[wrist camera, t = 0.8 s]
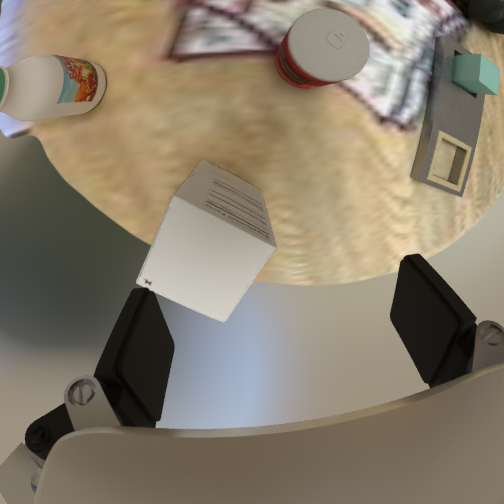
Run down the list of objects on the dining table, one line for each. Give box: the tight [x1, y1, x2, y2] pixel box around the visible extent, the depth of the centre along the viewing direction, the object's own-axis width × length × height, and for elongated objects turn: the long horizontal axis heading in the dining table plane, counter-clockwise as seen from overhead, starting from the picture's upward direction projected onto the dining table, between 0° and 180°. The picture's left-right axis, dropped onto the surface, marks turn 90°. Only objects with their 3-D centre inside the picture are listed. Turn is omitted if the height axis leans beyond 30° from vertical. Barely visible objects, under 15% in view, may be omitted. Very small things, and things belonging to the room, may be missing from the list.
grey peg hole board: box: [410, 35, 485, 197], centre depth 30 cm, size 24×10×3 cm, turn 170°
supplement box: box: [136, 159, 277, 322], centre depth 30 cm, size 10×9×17 cm
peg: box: [451, 54, 500, 96], centre depth 24 cm, size 4×4×8 cm
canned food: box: [276, 9, 369, 89], centre depth 24 cm, size 8×8×11 cm
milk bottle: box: [0, 54, 106, 121], centre depth 20 cm, size 8×8×20 cm
